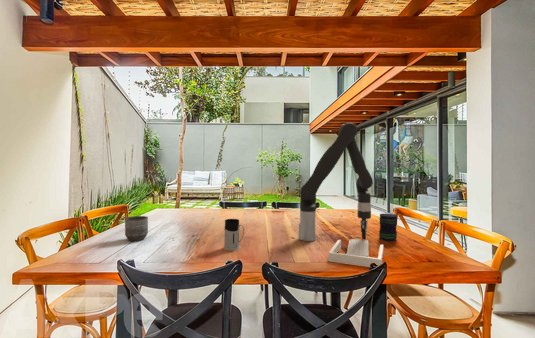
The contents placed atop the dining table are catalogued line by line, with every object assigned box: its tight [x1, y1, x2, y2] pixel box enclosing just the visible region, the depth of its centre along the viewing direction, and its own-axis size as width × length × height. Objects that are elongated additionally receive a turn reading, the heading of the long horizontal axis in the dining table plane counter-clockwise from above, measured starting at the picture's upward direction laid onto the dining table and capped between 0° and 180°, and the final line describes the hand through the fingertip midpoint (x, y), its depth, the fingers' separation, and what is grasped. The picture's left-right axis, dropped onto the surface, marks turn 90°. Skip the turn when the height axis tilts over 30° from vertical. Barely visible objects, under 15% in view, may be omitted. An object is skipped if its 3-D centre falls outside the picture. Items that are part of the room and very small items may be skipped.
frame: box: [327, 239, 384, 268], centre depth 145 cm, size 23×26×4 cm
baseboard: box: [346, 237, 370, 257], centre depth 160 cm, size 31×3×12 cm
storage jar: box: [378, 213, 398, 243], centre depth 178 cm, size 10×10×15 cm
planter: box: [124, 215, 149, 242], centre depth 172 cm, size 12×12×13 cm
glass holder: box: [223, 218, 245, 252], centre depth 155 cm, size 9×14×15 cm, turn 45°
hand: (363, 238), depth 175 cm, fingers closed
